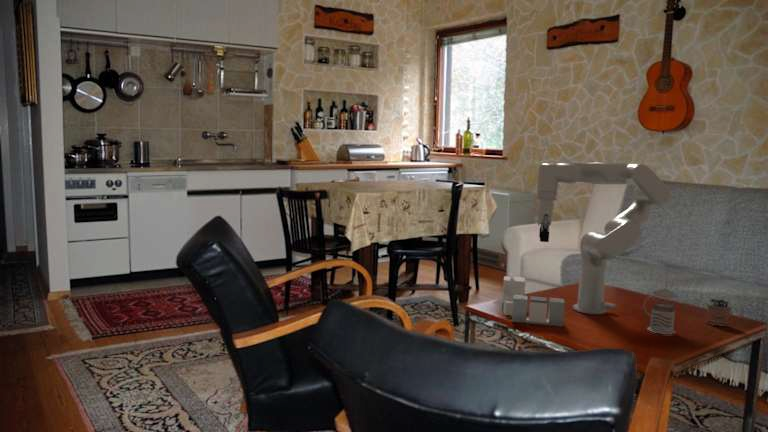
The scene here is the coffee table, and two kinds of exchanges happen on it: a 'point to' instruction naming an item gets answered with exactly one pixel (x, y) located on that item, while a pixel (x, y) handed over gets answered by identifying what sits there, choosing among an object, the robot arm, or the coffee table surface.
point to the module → (537, 309)
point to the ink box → (512, 287)
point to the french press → (660, 325)
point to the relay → (508, 307)
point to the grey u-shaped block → (553, 315)
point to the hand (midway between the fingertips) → (543, 239)
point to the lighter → (718, 312)
